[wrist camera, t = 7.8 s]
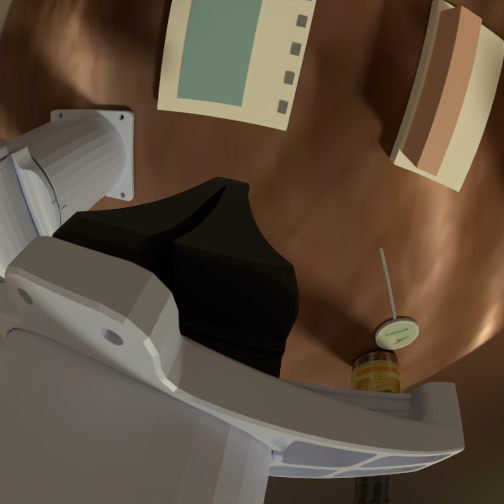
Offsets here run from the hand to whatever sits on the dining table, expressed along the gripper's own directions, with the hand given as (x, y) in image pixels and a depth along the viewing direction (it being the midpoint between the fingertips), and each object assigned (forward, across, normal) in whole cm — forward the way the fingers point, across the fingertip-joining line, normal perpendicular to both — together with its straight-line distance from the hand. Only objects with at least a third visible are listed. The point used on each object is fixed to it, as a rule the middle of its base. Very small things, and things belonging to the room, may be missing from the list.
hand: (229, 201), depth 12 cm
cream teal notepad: (+9, +3, -8) cm, 13 cm away
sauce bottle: (+10, -19, +22) cm, 31 cm away
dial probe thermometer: (+10, -16, +12) cm, 22 cm away
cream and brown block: (+9, -12, -8) cm, 17 cm away
